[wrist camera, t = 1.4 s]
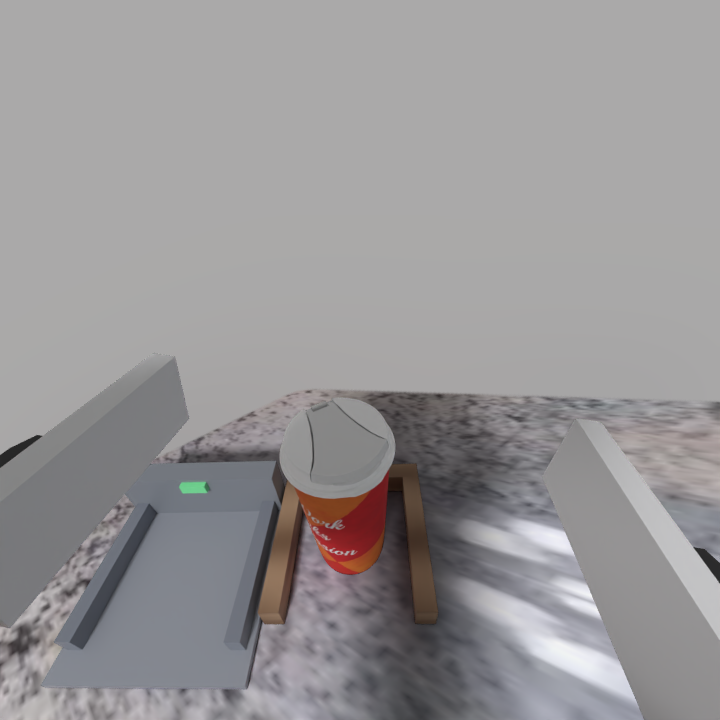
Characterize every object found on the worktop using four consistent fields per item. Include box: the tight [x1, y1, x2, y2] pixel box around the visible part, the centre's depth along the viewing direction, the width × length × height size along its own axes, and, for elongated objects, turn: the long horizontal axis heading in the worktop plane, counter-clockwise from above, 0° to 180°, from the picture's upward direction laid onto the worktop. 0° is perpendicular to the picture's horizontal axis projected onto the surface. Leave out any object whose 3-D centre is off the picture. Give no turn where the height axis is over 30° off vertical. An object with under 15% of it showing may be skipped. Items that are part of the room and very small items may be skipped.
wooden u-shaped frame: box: [258, 464, 438, 624], centre depth 31 cm, size 13×14×2 cm
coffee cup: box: [279, 398, 395, 575], centre depth 27 cm, size 8×8×15 cm
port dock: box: [41, 461, 285, 689], centre depth 28 cm, size 15×15×6 cm
